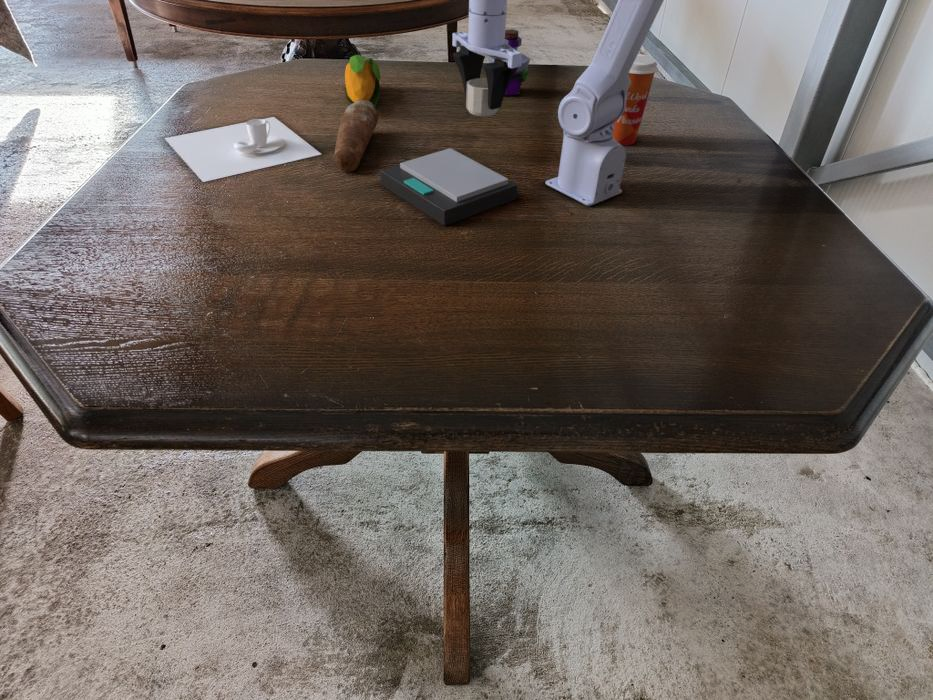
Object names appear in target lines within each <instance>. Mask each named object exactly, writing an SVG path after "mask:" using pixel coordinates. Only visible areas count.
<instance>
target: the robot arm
mask: <svg viewBox="0 0 933 700" xmlns="http://www.w3.org/2000/svg"><path fill="white" fill-rule="evenodd" d="M664 2H665V0H617V3H616V5H615V7H614V9H613V12H612V14H611V17H610V19H609V22H608V24H607V26H606V28H605V31H604V33H603V36H602V37H601V40H600V42H599V44H598V46H597V49H596V52H595V54H594V56H593V59H592V61H591V63H590V64H589V65H588V66H587V68H586V69H585V70H584V71H583V72H582V74H581V75H579V77H578V78H577V79H576V81H575V82H574V86H573V88H572V89H571V91H570V92H569V93H568V94H567V95H565V96H563V98H562V99H561V101H560V103H559V105H558V109H557V118H558V122H559V125H560V127H561V129H562V131H563V132H562V133H563V134H562V135H563V139H562V144H561V145H562V146H561V151H560V152H561V153H560V160H559V168H558V176H555V177H553V178H550V179H547V180H545V185H546V186H548V187H550V188H552V189H554V190H555V191H558V192H560V193H561V194H564V196H565V195H566V196H567V197H569V198H571V199H573V200H575V201H576V202H579V203H581V204H582V205H585V206H586V207H591V206H593V205H596V204H598V203H600V202H603V201H605V200H608V199H610V198H613V197H615V196H617V195H620V194H622V192H623V190H622V189H621V184H622V179H623V175H624V169H625V164H626V159H627V151H626V148H625V147H624V145H621V144H619V143H618V142H617V141H616V140H615V139H614V137H613V131H614V124H615V121H616V120H617V119H619V118H620V117H621V116H622V114H623V112H624V110H625V107H626V95H627V91H628V89H629V87H630V85H631V80H630V78H629V76H628V73H629V71H630V69H631V67H632V65H633V63H634V61H635V59H636V57H637V55H638V54H640V53H639V52H640V50H641V48H642V46H643V44H644V42H645V40H646V38H647V36H648V34H649V32H650V29H651V27H652V26H653V24H654V22H655V19H656V18H657V15H658V13H659V11H660V9H661V7H662V5H663V3H664ZM507 9H508V0H468V25H467V27H468V31H467V32H465V31H458V32H452V42H451V43H452V47H455V48H459V49H458V51H455V52H453V53H452V59H453V60H454V62H455V65H456V67H457V69H458V72H459V74H460V77H461V81H462V86H463V91H464V96H465V97H466V93H467V82H468V81H469V80H471V79H475V78H481V74H482V69H483V70H484V73H485V78H487V83H488V106H489V109H491V110H493V109H497V108H499V109H500V108H501V107H502V105H503V101H504V97H505V96H504V95H505V92H506V89H507V87H508V85H509V82H510V80H511V79H512V77H513V75H514V74H515V72H516V71H517V69H518V67H521V64H522V54H523V52H521V51H518V50H517V51H516V50H515V49H513V48H512V47H511V46H509V45H508V40H506V39H505V30H506V28H507V27H506V25H507V14H508V13H507V12H508V11H507ZM485 58H488V59H489V58H491V59H493V60H494V63H489V62H488V63H484V61H485Z"/></svg>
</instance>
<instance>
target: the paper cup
mask: <svg viewBox="0 0 933 700" xmlns="http://www.w3.org/2000/svg"><path fill="white" fill-rule="evenodd" d="M658 71H659V67H658V63H657V61H656V59H655V58H654V57H652V56H650V55H647V54H644V53H643V54H642V53H638V55H637V57H636V59H635V61H634V63H633V65H632V67H631V69H630V71H629V73H628V76H629V78H630V80H631V85H630V87H629V89H628V91H627V95H626V107H625V110H624V112H623V114H622V116H621V117H620V118H619V119H617V120H616V121H615V124H614V131H613V137H614V139H615V140H616V141H617V142H618V143H619V144H621V145H622V146H630V145H633V144H635V142H636V140H637V137H638V134H639V130H640V127H641V123H642V120H643V117H644V113H645V109H646V105H647V102H648V98H649V94H650V91H651V88H652V83H653V80H654V76H655V73H656V72H658Z"/></svg>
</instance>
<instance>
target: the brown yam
mask: <svg viewBox="0 0 933 700" xmlns="http://www.w3.org/2000/svg"><path fill="white" fill-rule="evenodd" d="M378 122H379V114H378V112H377V109H376V107H375V108H374V105H373V104H372V101H371V100H369V101H365V100H358V101H357V102H355V103H353V104H352V103H350V105H348V106H346V107H345V108H344V110H343V112H342V115H341V118H340V122H339V129H338V130H337V131H338V132H337V137H336V142H335V148H334V154H333V162H334V164H335V166H336V167H337V168H338V169H340V170H342V171H345V172H354V171H356V170H357V169H358V167H359V165H360V162H361V160H362V158H363V156H364V154H365V153H366V149H367V147H368V144H369V142H370V140H371V137H372V136H373V133H374V131H375V129H376V127H377V124H378Z"/></svg>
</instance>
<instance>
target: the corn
mask: <svg viewBox="0 0 933 700" xmlns="http://www.w3.org/2000/svg"><path fill="white" fill-rule="evenodd" d="M366 58H367V57H366V56H365V55H361V54H354V55H352V56H350V57H349V62H348V63H347V64H346V66H345V70H344V83H345V84H344V93H345V97H346V99H347V101H348V102H349V103H350V104H353V103H355V102H357V101H358V100H365V101H371V103H372V104H373V105H374V108H375V109H376V108H377V104H378V101H379V99H380V95H381V86H380V80H381V78H382V77H381V71H380V66H379V64H378V63H376V61H375V60H374V58H372V57H369V58H368V59H366Z"/></svg>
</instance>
